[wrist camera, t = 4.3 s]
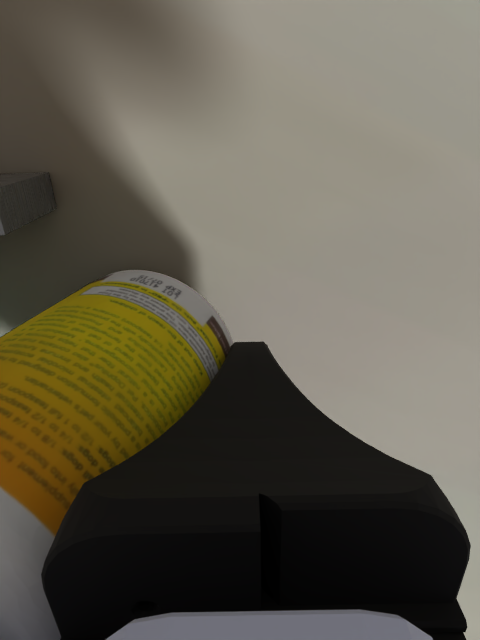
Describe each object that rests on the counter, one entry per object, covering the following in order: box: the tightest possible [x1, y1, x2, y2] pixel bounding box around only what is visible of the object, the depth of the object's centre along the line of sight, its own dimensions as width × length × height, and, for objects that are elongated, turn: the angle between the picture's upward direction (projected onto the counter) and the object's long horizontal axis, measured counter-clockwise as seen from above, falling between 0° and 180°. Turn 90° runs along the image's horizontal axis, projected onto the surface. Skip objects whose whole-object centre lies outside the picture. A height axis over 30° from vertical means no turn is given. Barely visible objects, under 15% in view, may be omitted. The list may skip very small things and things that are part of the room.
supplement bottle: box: [0, 270, 233, 640], centre depth 9 cm, size 6×6×10 cm
